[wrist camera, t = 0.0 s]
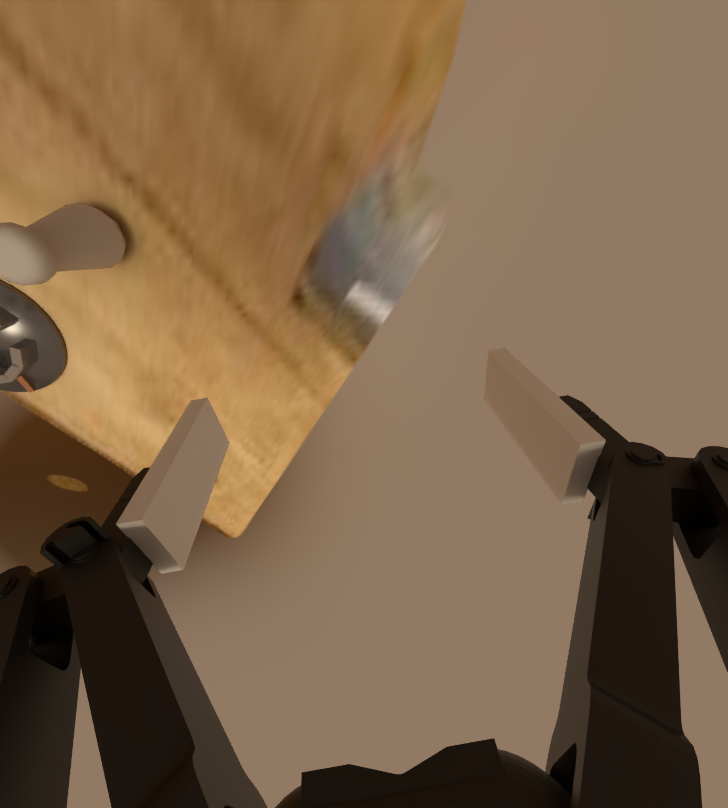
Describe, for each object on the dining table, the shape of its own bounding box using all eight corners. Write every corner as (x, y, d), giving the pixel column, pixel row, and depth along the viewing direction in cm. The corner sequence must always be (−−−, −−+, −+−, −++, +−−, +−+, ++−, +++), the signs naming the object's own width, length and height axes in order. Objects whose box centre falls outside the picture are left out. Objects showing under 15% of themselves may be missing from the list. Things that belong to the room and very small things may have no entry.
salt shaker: (77, 188, 32) (-46, 191, 22) (140, 224, 34) (57, 243, 24) (67, 244, 35) (-48, 271, 24) (127, 274, 37) (46, 312, 26)
